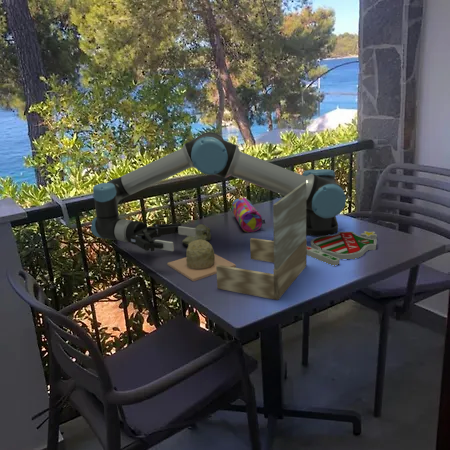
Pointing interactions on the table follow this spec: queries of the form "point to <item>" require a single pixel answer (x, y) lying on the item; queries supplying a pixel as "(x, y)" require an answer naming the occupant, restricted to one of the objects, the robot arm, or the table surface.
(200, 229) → the rock
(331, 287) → the table surface
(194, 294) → the table surface
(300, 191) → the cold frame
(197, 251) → the olive rounded lump
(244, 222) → the pencil case
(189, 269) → the terracotta tile
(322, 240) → the decorative emblem
